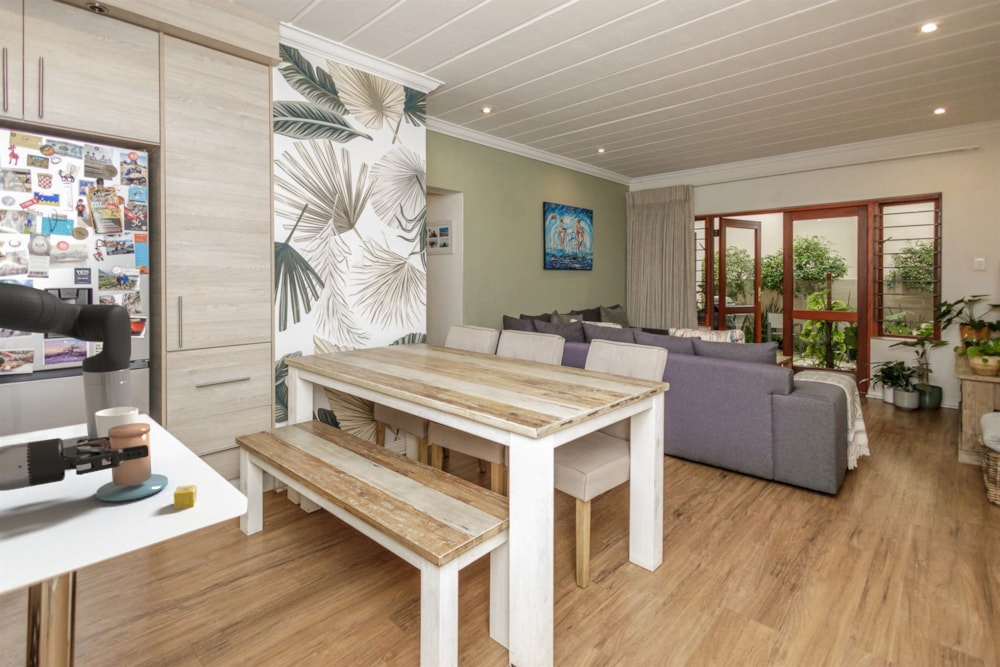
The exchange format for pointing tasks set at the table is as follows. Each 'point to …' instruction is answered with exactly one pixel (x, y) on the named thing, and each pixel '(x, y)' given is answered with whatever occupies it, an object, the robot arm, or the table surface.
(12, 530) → the table surface
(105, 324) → the robot arm
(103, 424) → the white cup
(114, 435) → the dome-topped peach cylinder
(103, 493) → the blue-grey round disc
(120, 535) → the table surface
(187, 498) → the alphabet block
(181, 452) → the table surface
